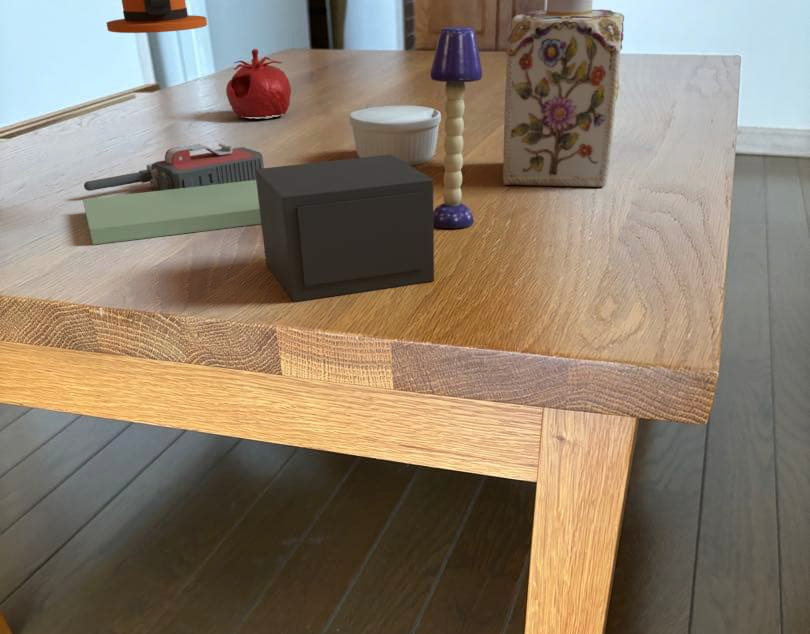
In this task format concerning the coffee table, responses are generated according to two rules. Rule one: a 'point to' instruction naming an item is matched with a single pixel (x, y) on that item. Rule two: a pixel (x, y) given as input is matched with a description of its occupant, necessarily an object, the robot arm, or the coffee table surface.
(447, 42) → the toy lamp
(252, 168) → the walkie-talkie
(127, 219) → the board
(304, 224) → the box
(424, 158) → the ramekin
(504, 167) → the decorative jar
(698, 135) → the coffee table surface
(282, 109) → the red hollow tomato
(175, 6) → the hat
